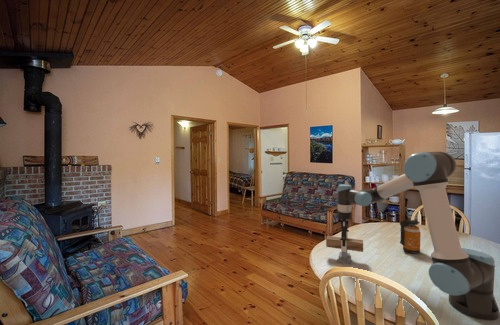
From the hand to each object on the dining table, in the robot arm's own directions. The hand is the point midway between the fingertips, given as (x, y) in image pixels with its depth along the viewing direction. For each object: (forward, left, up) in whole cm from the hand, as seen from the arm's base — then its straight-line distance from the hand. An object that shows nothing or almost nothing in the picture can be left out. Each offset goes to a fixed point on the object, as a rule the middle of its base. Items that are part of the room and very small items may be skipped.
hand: (344, 246), depth 144 cm
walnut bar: (0, 0, -1) cm, 1 cm away
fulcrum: (0, 0, -7) cm, 7 cm away
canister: (+26, -37, -8) cm, 45 cm away
